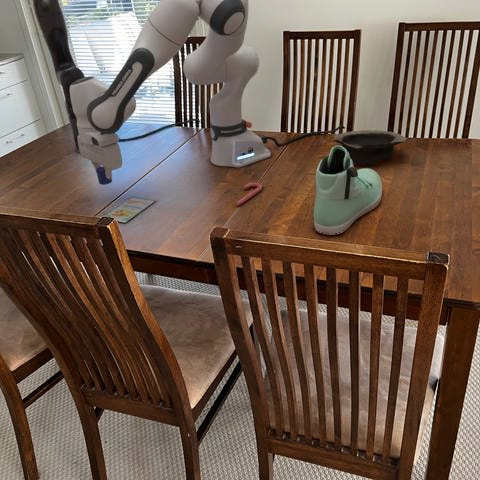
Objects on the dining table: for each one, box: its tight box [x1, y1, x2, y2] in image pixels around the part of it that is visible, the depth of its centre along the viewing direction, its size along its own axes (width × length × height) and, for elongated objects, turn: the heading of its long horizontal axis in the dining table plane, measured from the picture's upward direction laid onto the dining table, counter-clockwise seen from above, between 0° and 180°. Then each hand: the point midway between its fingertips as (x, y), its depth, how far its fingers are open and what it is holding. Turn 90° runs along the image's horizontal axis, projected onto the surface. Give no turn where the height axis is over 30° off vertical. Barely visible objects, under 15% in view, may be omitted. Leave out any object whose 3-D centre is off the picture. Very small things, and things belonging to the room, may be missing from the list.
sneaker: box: [313, 145, 383, 236], centre depth 133 cm, size 14×35×20 cm, turn 152°
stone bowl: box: [332, 130, 407, 166], centre depth 168 cm, size 25×25×9 cm
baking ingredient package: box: [104, 197, 155, 223], centre depth 147 cm, size 9×1×15 cm
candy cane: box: [235, 181, 263, 207], centre depth 150 cm, size 6×15×2 cm, turn 145°
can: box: [95, 166, 113, 186], centre depth 152 cm, size 4×4×5 cm
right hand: (104, 175), depth 152 cm, fingers closed on can, 4 cm apart
